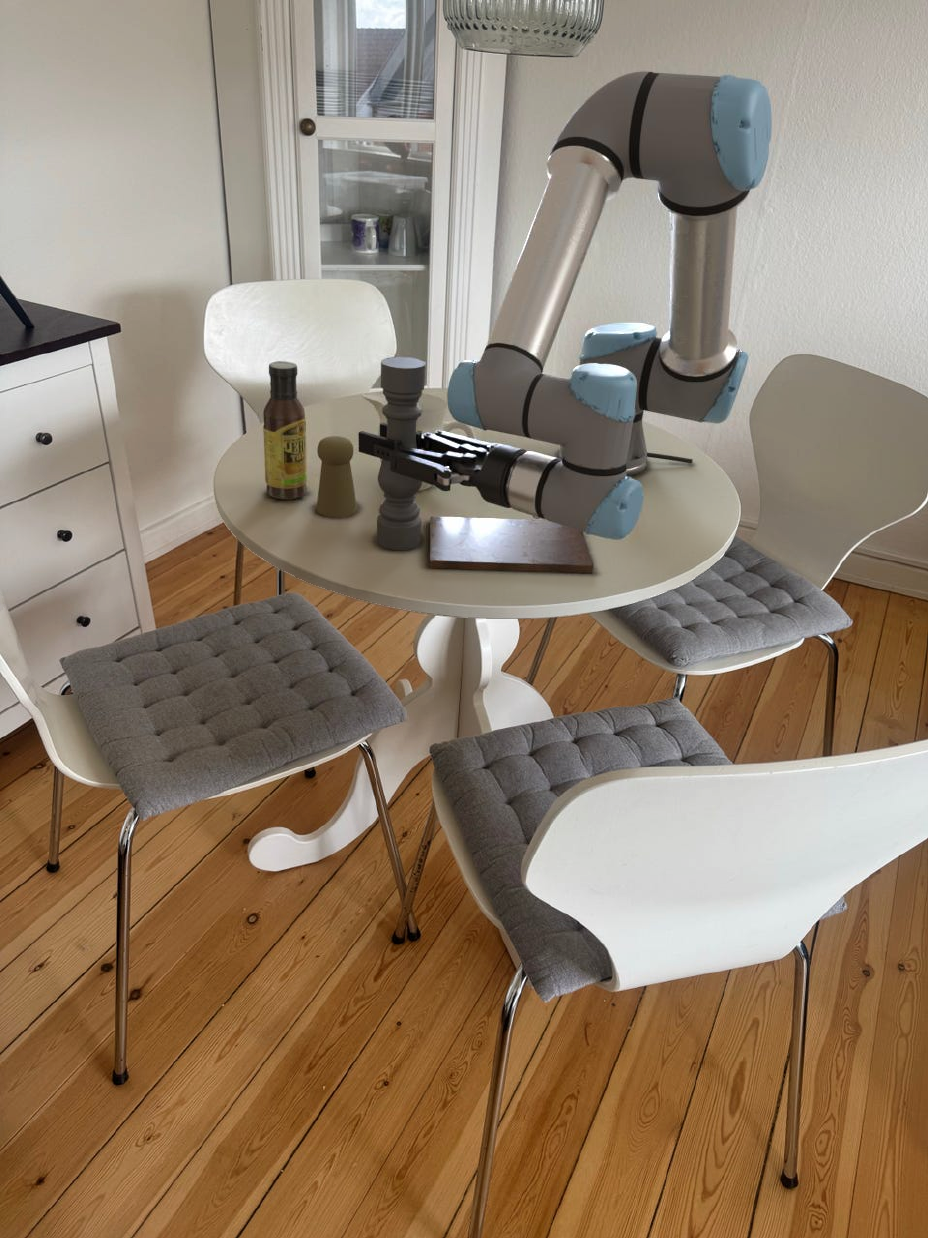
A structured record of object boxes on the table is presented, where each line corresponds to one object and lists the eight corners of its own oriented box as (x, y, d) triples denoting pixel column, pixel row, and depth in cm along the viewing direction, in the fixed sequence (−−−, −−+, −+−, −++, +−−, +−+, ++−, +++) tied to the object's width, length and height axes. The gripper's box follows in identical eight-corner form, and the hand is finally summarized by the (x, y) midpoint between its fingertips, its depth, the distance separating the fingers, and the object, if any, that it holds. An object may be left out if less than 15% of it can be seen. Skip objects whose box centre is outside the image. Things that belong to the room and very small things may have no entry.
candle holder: (407, 528, 132) (412, 354, 120) (428, 545, 128) (436, 366, 115) (368, 536, 129) (370, 358, 117) (390, 553, 125) (393, 370, 112)
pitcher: (469, 502, 141) (474, 416, 134) (355, 491, 143) (354, 405, 136) (477, 476, 151) (482, 394, 144) (370, 465, 152) (370, 384, 145)
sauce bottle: (290, 505, 137) (283, 373, 127) (257, 495, 139) (248, 365, 129) (316, 491, 142) (312, 363, 132) (284, 482, 144) (278, 356, 134)
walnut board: (578, 528, 135) (579, 521, 135) (592, 573, 123) (593, 565, 123) (430, 523, 134) (430, 516, 133) (429, 568, 122) (430, 560, 121)
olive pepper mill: (335, 521, 133) (333, 449, 127) (307, 508, 136) (305, 437, 131) (365, 509, 137) (365, 439, 132) (337, 497, 140) (336, 428, 135)
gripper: (481, 530, 109) (330, 480, 120) (549, 487, 122) (407, 446, 132) (485, 471, 105) (329, 425, 116) (554, 433, 118) (408, 395, 128)
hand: (371, 436), depth 124 cm, fingers closed on candle holder, 4 cm apart
